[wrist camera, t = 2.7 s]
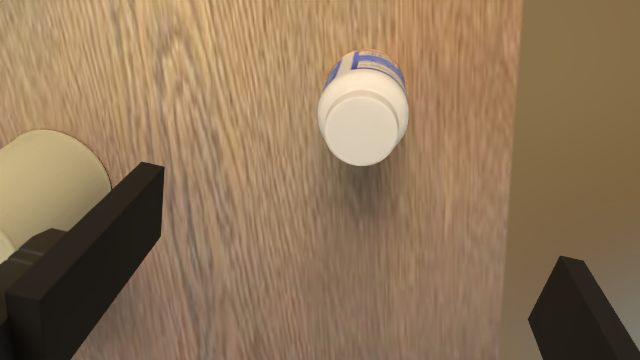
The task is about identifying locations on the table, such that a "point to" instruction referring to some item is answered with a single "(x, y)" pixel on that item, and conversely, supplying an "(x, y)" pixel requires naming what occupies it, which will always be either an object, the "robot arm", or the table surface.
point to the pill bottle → (363, 107)
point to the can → (46, 186)
